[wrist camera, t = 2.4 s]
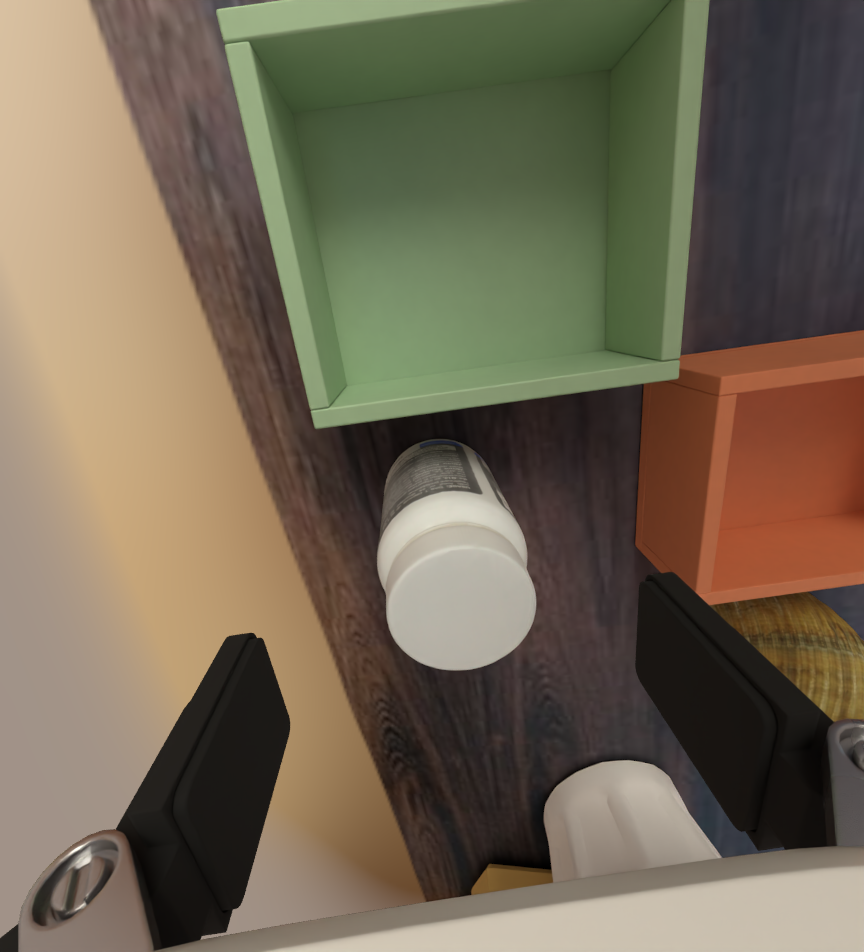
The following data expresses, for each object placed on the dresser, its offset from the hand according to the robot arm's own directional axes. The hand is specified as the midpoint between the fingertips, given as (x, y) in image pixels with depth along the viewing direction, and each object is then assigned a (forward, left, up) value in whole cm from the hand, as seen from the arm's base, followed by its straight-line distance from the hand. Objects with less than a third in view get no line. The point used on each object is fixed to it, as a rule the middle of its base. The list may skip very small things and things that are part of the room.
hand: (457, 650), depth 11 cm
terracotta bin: (0, +15, -9) cm, 17 cm away
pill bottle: (0, 0, -9) cm, 9 cm away
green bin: (-10, +2, -9) cm, 14 cm away
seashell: (+11, +15, -9) cm, 21 cm away
